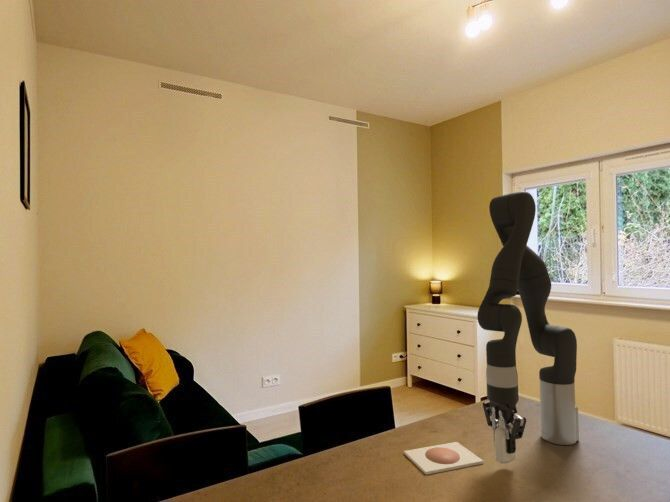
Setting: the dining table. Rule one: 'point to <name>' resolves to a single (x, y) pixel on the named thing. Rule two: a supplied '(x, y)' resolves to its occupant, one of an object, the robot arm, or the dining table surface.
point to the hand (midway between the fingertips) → (504, 448)
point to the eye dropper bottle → (502, 446)
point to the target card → (442, 457)
